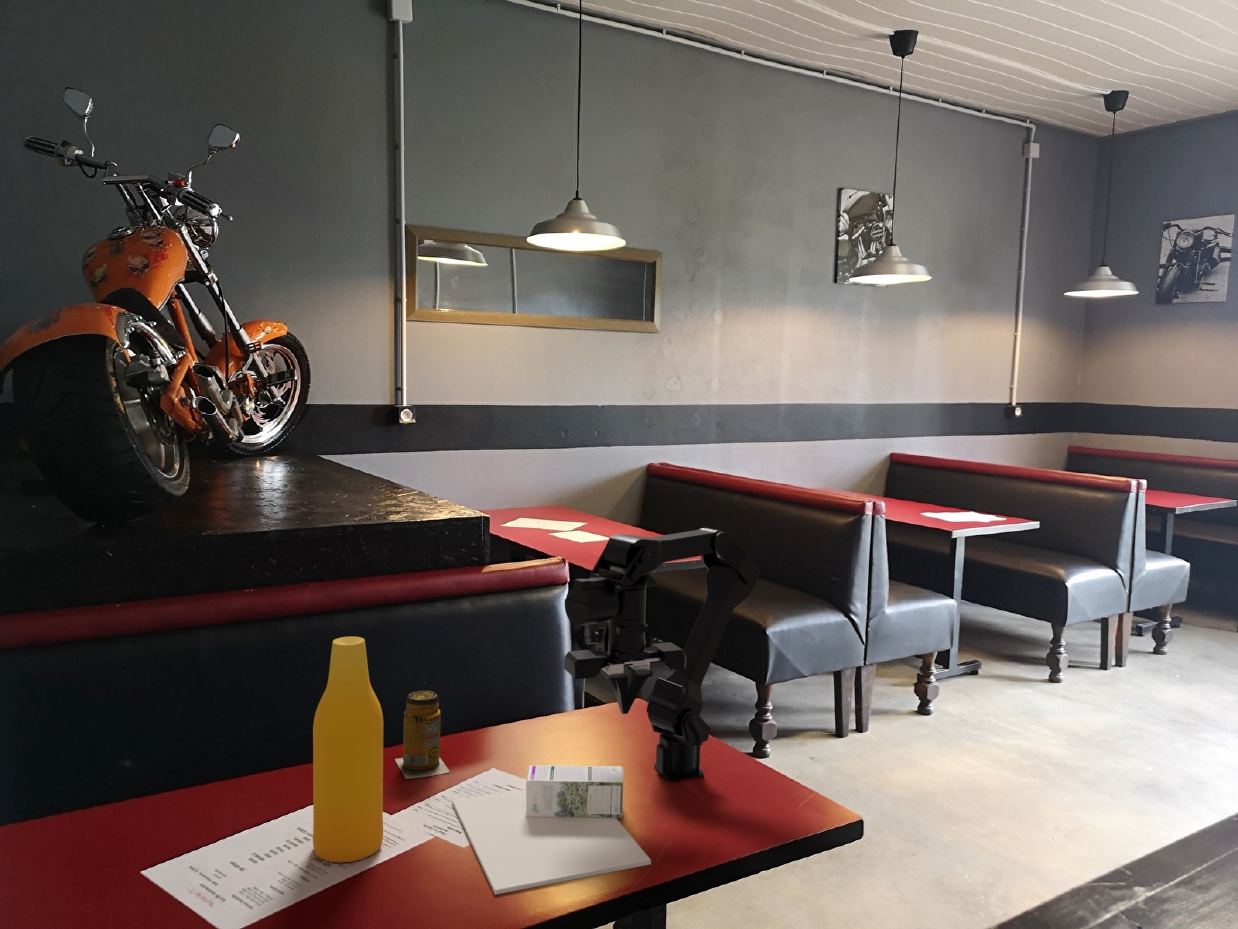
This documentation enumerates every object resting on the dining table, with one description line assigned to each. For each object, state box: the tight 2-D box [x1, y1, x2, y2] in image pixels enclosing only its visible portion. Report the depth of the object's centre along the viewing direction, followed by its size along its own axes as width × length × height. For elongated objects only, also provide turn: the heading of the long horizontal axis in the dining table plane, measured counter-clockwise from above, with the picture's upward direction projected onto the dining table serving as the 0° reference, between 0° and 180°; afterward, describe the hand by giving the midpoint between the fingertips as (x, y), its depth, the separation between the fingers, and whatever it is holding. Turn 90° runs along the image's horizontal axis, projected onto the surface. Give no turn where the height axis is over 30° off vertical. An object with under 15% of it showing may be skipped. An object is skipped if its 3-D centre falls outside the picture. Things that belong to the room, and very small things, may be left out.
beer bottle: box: [312, 636, 384, 863], centre depth 121 cm, size 9×9×29 cm
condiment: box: [394, 690, 451, 779], centre depth 148 cm, size 7×8×12 cm
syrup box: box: [525, 764, 624, 819], centre depth 133 cm, size 6×6×14 cm
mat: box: [451, 788, 652, 895], centre depth 128 cm, size 22×26×1 cm
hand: (624, 713), depth 140 cm, fingers closed
